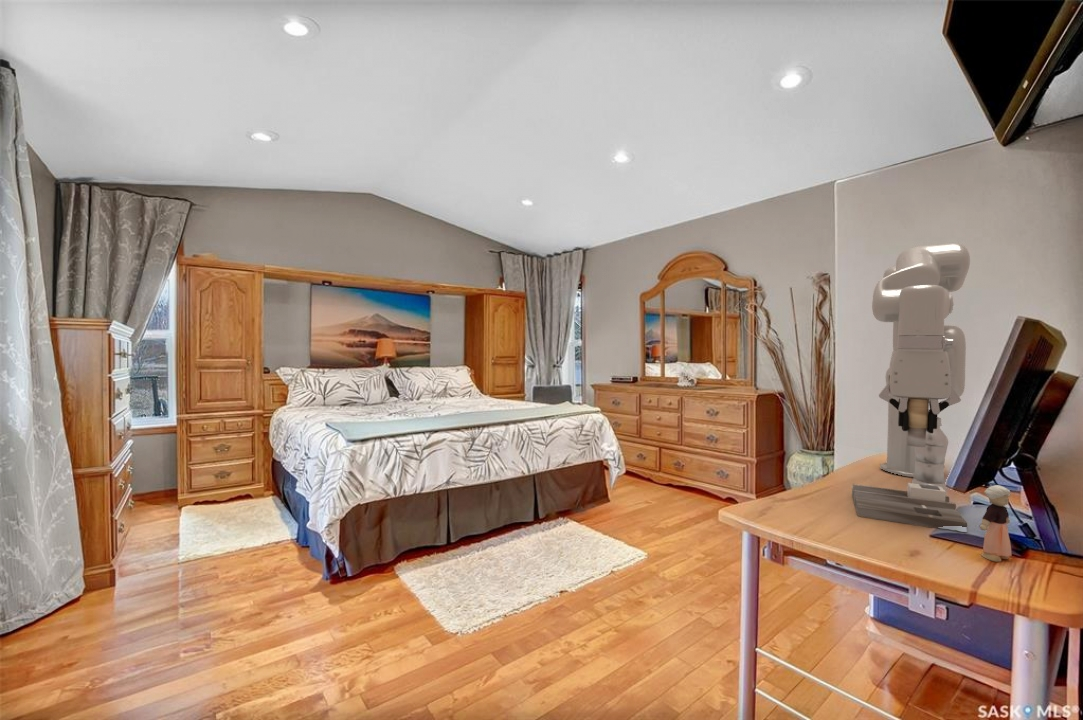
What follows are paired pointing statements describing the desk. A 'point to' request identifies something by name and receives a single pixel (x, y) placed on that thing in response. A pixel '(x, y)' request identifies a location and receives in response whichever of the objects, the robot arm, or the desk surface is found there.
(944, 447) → the plastic bottle
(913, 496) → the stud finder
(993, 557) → the grandmother figurine
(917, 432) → the tan cylinder
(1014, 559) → the desk surface
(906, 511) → the grey ridged panel
